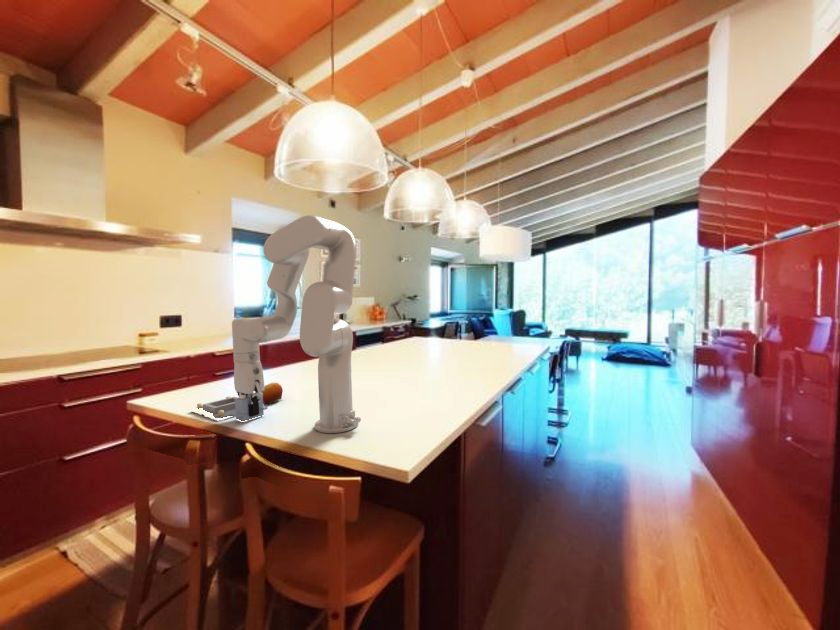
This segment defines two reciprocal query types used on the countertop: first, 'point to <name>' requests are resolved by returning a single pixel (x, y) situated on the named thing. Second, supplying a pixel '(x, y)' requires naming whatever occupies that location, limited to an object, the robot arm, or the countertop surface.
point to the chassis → (220, 407)
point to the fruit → (272, 393)
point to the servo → (246, 408)
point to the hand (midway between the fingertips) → (249, 413)
